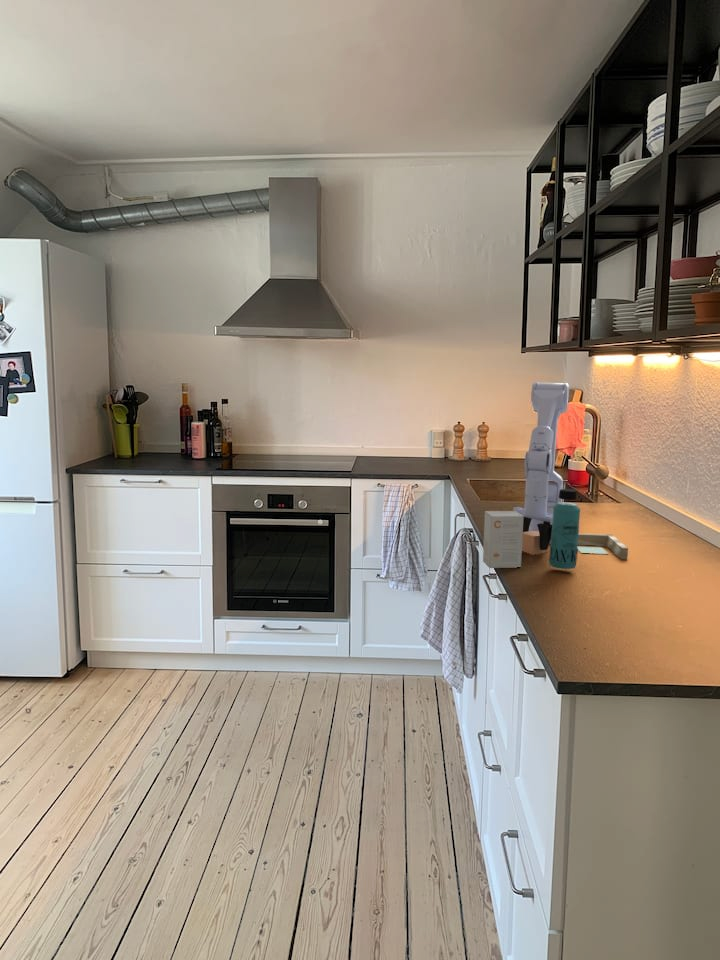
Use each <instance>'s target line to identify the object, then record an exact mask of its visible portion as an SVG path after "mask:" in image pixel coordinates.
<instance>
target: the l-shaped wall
mask: <svg viewBox="0 0 720 960" xmlns="http://www.w3.org/2000/svg"><path fill="white" fill-rule="evenodd" d="M578 540H579V541H578V546H585V545H596V546H595V547H607V546H608V547H609V548H610V549H609V548H608V547H607V548H608V549H609V550H611V552H612V553H614V554H615V555H616V556H617V557H618V558H619V559H620V558H621V559H620V560H622V559H627V560H628V555H629V554H628V553H629V547H628V546H626V545H625V544H624V543H623V542H621V541H620V540H619V539H618V538H617V537H616V536H614V535H613V534H605V533H604V534H603V533H580V532H579V534H578ZM549 545H551V541H550V543H549ZM597 545H599V546H597Z"/></svg>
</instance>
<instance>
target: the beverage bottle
mask: <svg viewBox="0 0 720 960" xmlns="http://www.w3.org/2000/svg"><path fill="white" fill-rule="evenodd" d="M577 495H578V493H577V490H575V489H571V488H563V489H561V490H560V493H559V498H560V499H562V500H569V501H576V500H577V499H578V496H577ZM580 517H581V508H580V506H578V504H577V503H573V502H566V501H565V502H564V501H562V502H560V503H558V504H556V505H555V506H554V507H553V522H552V533H551V537H550V538H551V540H550V541H551V544H549V557H548V558H549V559H548V561H549V562H548V563H549V566H550V567H552V568H555V569H561V570H571V569H575V567H576V565H577V560H578V552H579V550H578V549H577V547H578V546H579V545H578V541H579V540H578V534H579V533H580V532H579V531H580Z"/></svg>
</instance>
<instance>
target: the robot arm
mask: <svg viewBox="0 0 720 960" xmlns="http://www.w3.org/2000/svg"><path fill="white" fill-rule="evenodd" d="M531 385H532V386H531V392H530V400H531V404H532V408H533V410H534V411H535V412H537V424H536V425H537V426H536V427H535V428H533V429H532V430H531V435H530V442H529V447H528V451H526V453H525V456H524V471H525V472H524V479H525V488H524V489H525V493H524V507H521V506H517V507H513V508H512V509H513V510H512V511H516V512H518V513H520V514H521V515H523V516H524V519H523V532H528V531H537V532H539V535H540V550H547V551H548V549H549V547H550V544H549V543H550V540H551V538H550V537H551V533H552V522H553V507H554V506H555V505H556V504H558V503H560V502H563V499H560V498H559V493H560V490H561V489H564V479H563V477H562V476H561V475H560V474H558V473H557V472H556V471H555V464H556V463H555V462H556V461H555V460H556V448H557V437H558V436H557V434H558V424H559V418H560V415H561V414H564V413H566V412H567V409H568V407H569V404H568V403H569V397H570V385H569V384H568V383H567V382H564V383H563V382H537V381H535V382H533V383H532V384H531Z"/></svg>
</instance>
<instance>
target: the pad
mask: <svg viewBox="0 0 720 960" xmlns="http://www.w3.org/2000/svg"><path fill="white" fill-rule="evenodd" d="M577 549H578V552H579V551H580V552H581V553H590V554H589V555H606V554H609V553H608V552H607V551H606V550H605V548H604V547H603V546H585V545H578V547H577ZM580 552H579V553H580ZM581 553H580V554H581ZM592 553H594V554H592Z"/></svg>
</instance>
